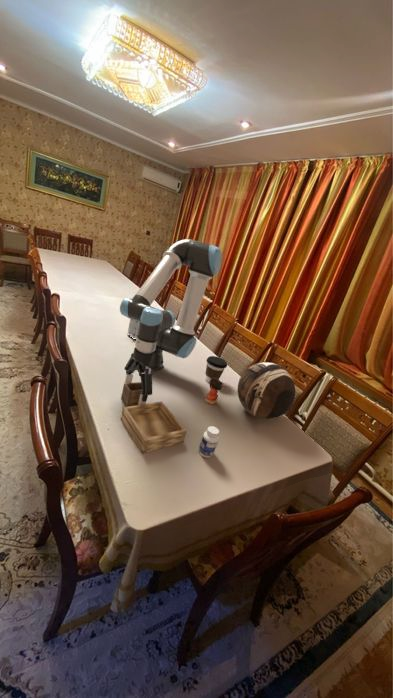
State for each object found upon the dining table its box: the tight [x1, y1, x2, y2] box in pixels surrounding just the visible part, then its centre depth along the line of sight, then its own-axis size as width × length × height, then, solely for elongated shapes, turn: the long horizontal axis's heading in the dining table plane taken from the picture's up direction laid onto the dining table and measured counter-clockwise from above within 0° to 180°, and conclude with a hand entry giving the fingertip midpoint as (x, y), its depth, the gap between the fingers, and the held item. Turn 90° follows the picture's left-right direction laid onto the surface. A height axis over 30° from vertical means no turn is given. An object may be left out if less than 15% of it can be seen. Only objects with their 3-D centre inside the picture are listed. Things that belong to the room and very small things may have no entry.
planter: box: [127, 318, 140, 339], centre depth 179 cm, size 16×16×14 cm
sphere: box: [237, 361, 296, 420], centre depth 129 cm, size 25×25×25 cm
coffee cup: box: [204, 355, 228, 384], centre depth 150 cm, size 11×11×12 cm
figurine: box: [203, 377, 223, 405], centre depth 130 cm, size 6×6×12 cm
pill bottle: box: [198, 425, 220, 458], centre depth 98 cm, size 5×5×10 cm
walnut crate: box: [120, 381, 142, 407], centre depth 115 cm, size 8×6×7 cm
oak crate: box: [120, 401, 187, 454], centre depth 102 cm, size 16×18×5 cm
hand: (133, 397), depth 115 cm, fingers open, 13 cm apart
